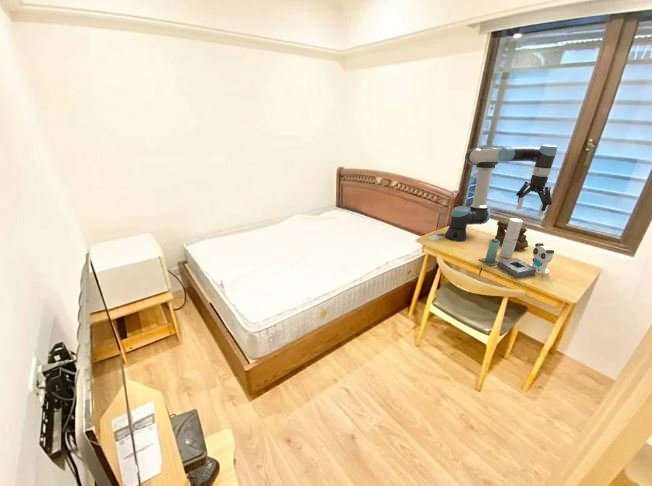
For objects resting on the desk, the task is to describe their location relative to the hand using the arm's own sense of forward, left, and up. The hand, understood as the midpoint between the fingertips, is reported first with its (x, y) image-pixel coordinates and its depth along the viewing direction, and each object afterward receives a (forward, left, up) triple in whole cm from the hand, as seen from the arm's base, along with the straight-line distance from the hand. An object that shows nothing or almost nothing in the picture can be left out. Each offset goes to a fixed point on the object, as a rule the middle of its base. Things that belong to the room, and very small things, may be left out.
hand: (528, 212), depth 168 cm
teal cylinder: (-7, -11, -34) cm, 37 cm away
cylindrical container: (-12, +7, -35) cm, 38 cm away
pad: (-7, -11, -35) cm, 37 cm away
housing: (+6, -4, -35) cm, 35 cm away
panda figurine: (+8, +11, -35) cm, 37 cm away
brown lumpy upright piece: (-23, +22, -35) cm, 47 cm away
